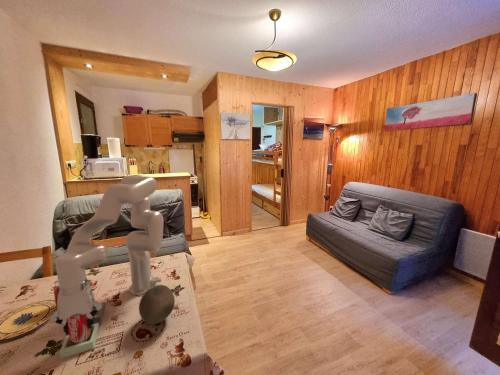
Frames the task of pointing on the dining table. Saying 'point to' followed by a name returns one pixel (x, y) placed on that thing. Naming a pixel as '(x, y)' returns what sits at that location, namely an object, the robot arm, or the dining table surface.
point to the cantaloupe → (156, 304)
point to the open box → (83, 346)
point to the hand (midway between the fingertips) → (79, 328)
